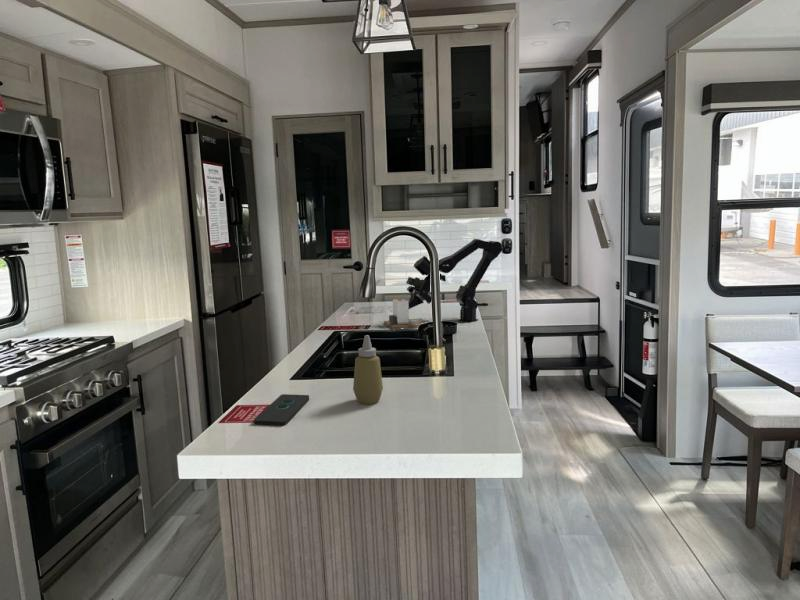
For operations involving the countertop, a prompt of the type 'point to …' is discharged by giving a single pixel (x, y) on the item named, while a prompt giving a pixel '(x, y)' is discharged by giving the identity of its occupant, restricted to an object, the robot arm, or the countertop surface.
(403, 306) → the block
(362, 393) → the squeeze bottle
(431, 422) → the countertop surface
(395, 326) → the rail board
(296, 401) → the smart home device
